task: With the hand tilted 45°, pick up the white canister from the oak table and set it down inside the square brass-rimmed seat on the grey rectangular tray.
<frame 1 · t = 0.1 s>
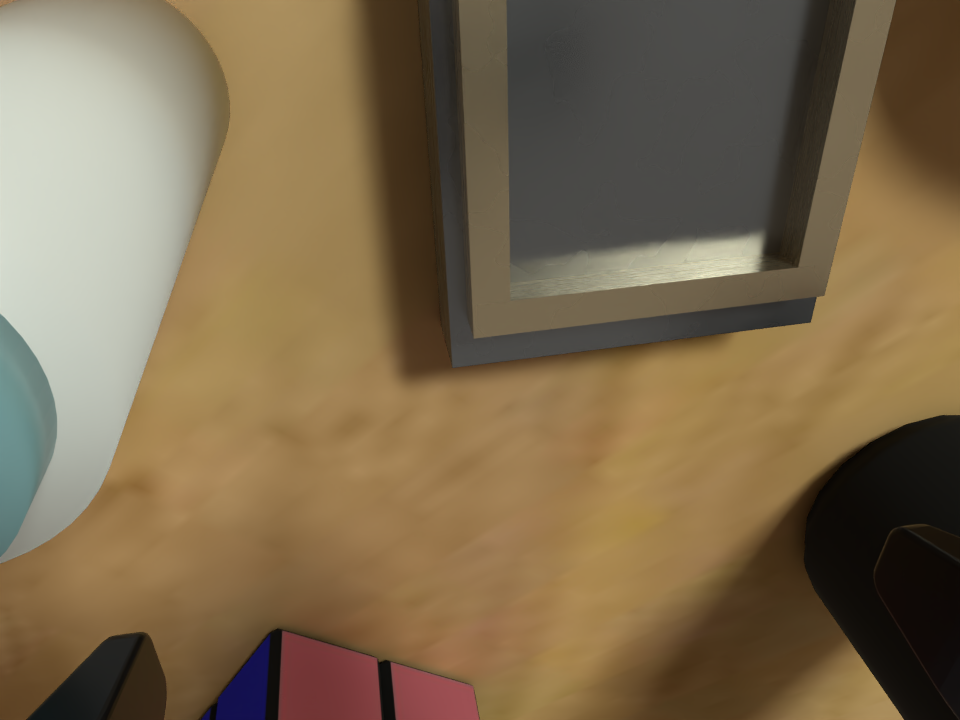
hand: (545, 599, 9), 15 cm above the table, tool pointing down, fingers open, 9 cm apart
puzzle cube: (322, 716, 34), on the table
grey rectangular tray: (624, 96, 21), on the table
white canister: (118, 96, 19), on the table
coffee jar: (904, 498, 33), on the table
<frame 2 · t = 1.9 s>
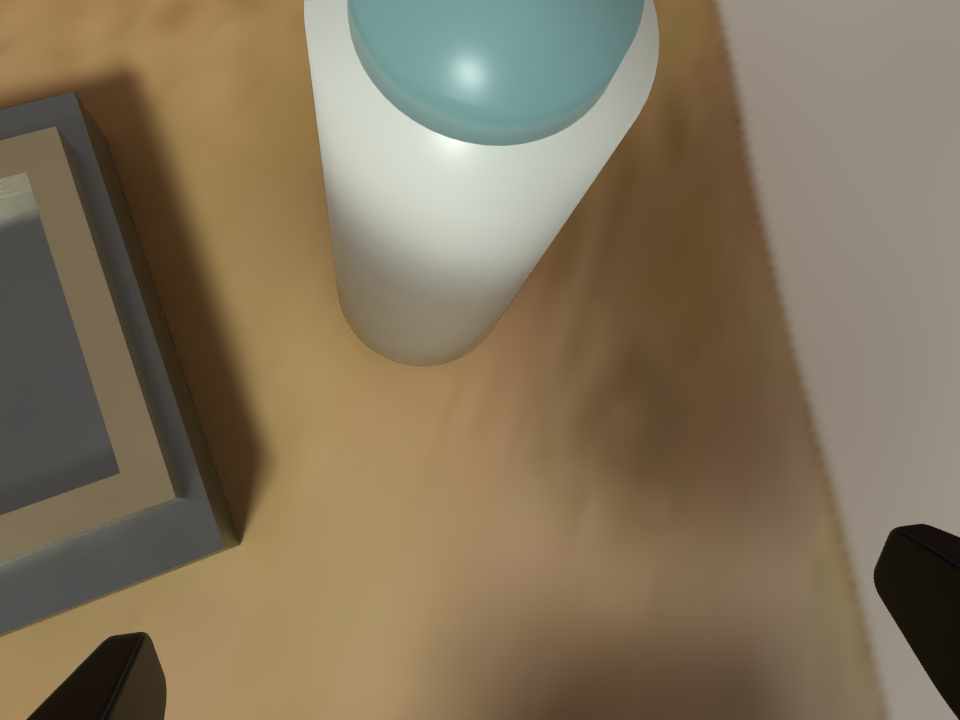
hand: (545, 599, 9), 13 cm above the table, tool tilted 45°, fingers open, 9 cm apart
white canister: (422, 284, 24), on the table
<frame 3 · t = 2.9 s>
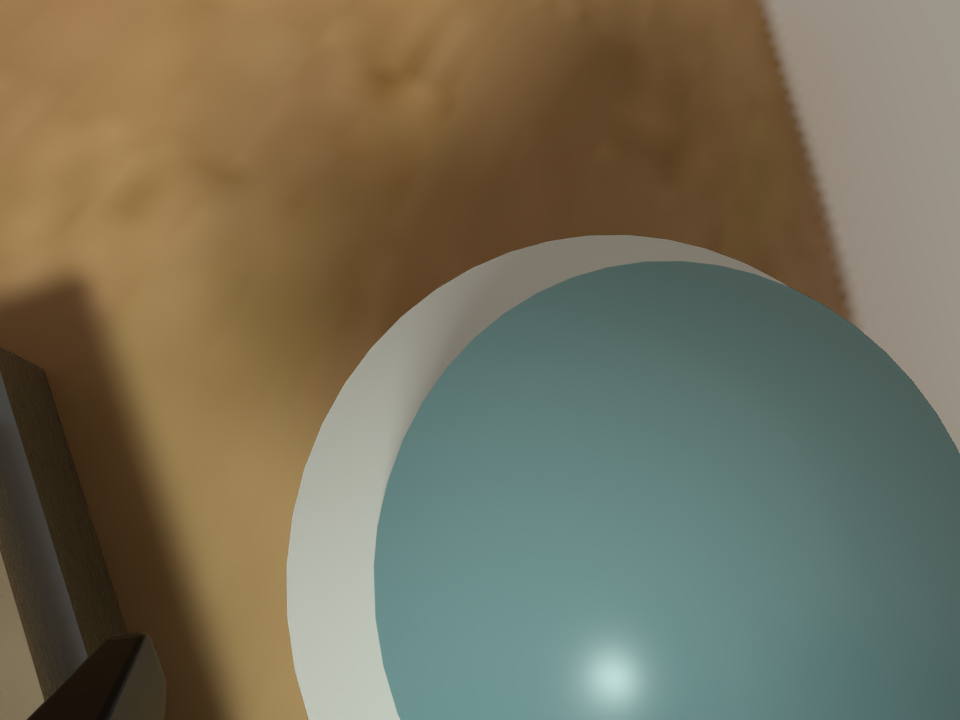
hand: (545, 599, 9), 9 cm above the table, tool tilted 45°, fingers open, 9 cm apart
white canister: (457, 545, 18), on the table
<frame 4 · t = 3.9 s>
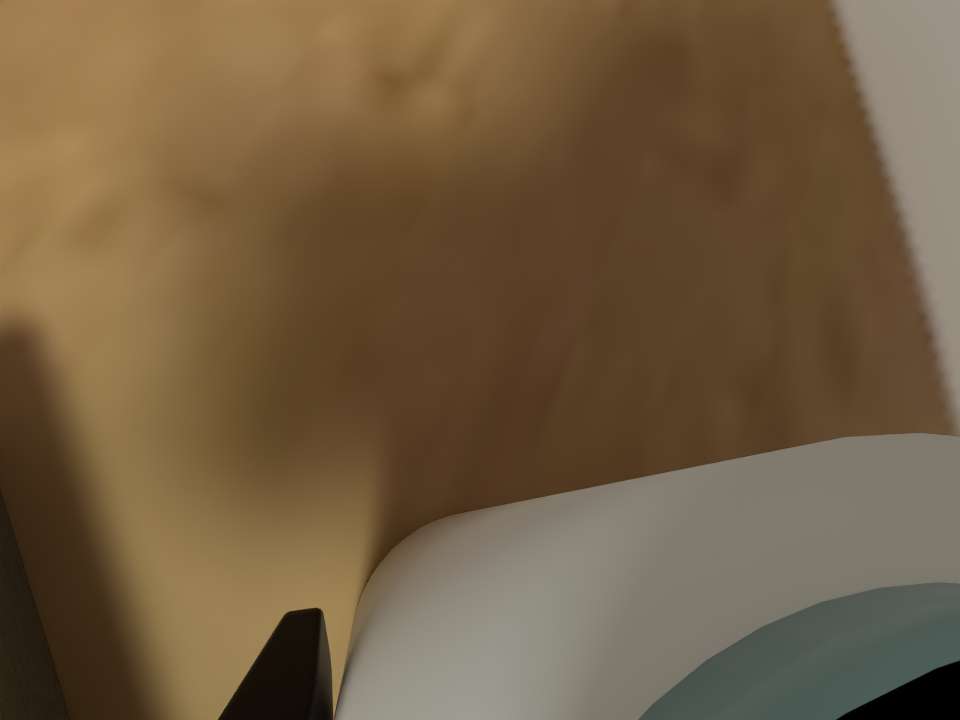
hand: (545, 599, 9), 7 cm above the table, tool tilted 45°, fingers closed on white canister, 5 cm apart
white canister: (481, 643, 15), on the table, touching gripper
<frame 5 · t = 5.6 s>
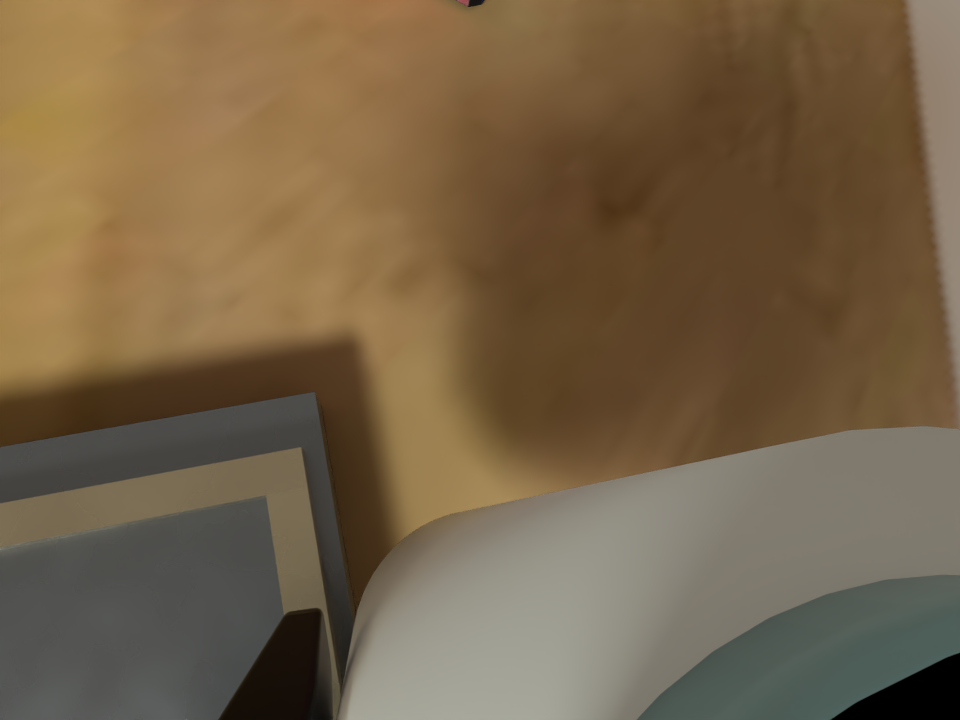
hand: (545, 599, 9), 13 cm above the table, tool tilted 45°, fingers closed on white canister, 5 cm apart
grey rectangular tray: (155, 677, 20), on the table
white canister: (483, 641, 15), point 7 cm above the table, touching gripper
when the fingers open (10 cm above the table, at t = 7.1 s): white canister drops 1 cm, resting on grey rectangular tray.
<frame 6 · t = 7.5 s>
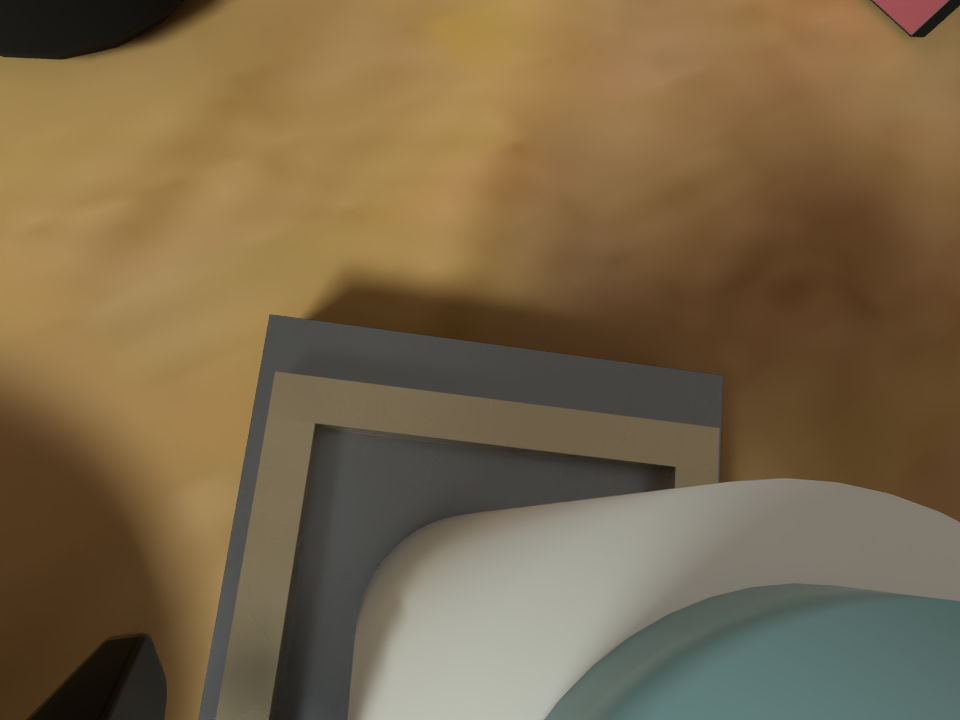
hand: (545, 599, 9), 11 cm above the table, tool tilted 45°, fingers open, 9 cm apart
grey rectangular tray: (462, 618, 19), on the table
white canister: (475, 635, 16), point 3 cm above the table, touching grey rectangular tray
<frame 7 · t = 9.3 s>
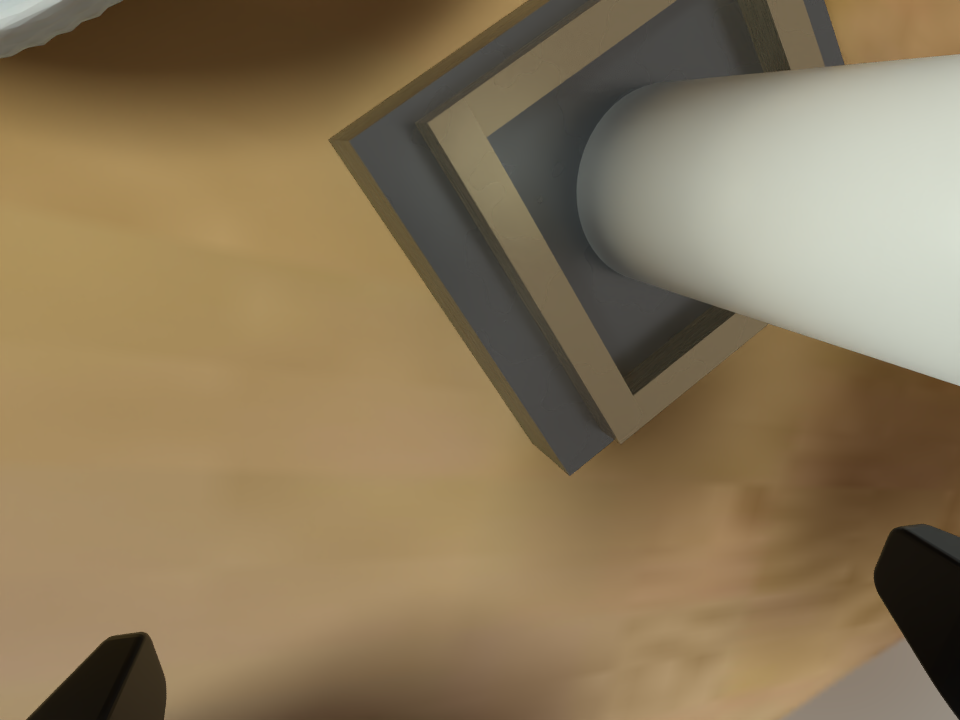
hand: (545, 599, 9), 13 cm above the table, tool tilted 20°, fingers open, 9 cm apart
grey rectangular tray: (615, 178, 22), on the table
white canister: (662, 185, 20), point 3 cm above the table, touching grey rectangular tray
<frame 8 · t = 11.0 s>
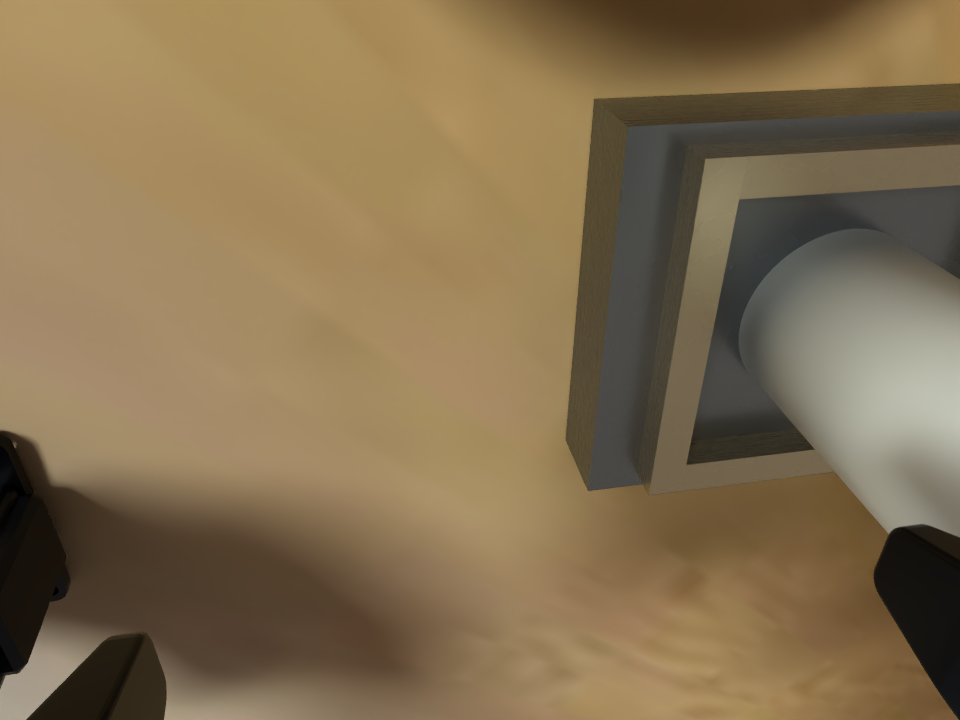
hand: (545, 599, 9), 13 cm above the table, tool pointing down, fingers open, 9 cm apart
grey rectangular tray: (783, 275, 23), on the table
white canister: (827, 316, 21), point 3 cm above the table, touching grey rectangular tray
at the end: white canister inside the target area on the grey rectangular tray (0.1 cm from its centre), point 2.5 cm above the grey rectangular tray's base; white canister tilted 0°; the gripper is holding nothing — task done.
